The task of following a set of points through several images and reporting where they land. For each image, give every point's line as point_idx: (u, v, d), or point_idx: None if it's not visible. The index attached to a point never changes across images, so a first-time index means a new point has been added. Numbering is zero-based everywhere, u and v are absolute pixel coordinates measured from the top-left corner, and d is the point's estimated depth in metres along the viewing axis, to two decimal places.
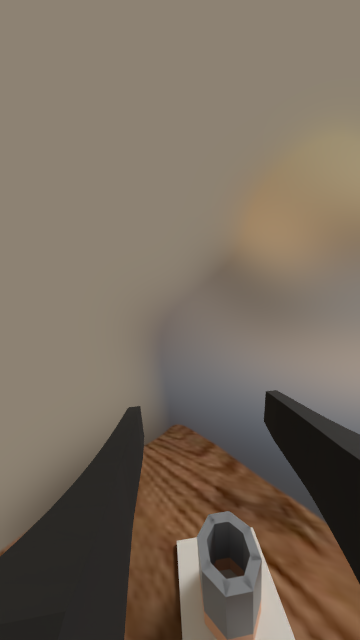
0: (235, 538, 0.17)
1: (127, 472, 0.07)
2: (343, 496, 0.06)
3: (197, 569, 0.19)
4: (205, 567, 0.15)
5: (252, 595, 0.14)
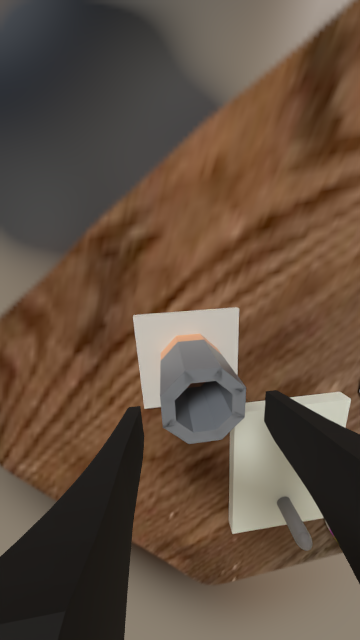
0: None
1: (127, 472, 0.07)
2: (343, 496, 0.06)
3: None
4: (219, 435, 0.11)
5: (242, 383, 0.11)
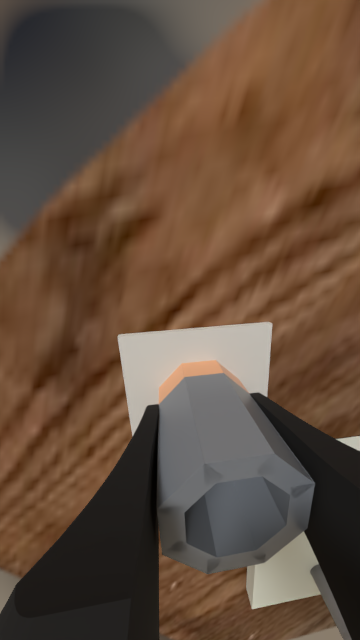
0: None
1: (154, 468, 0.07)
2: (315, 501, 0.06)
3: None
4: (261, 557, 0.07)
5: (304, 470, 0.06)
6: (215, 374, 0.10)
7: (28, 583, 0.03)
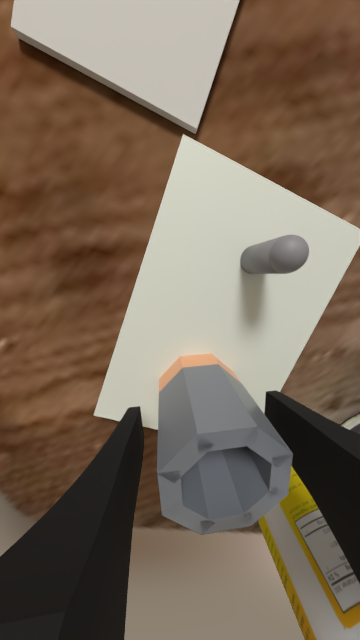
0: None
1: (127, 472, 0.07)
2: (343, 496, 0.06)
3: (78, 5, 0.08)
4: (247, 520, 0.07)
5: (284, 444, 0.07)
6: (210, 365, 0.11)
7: None
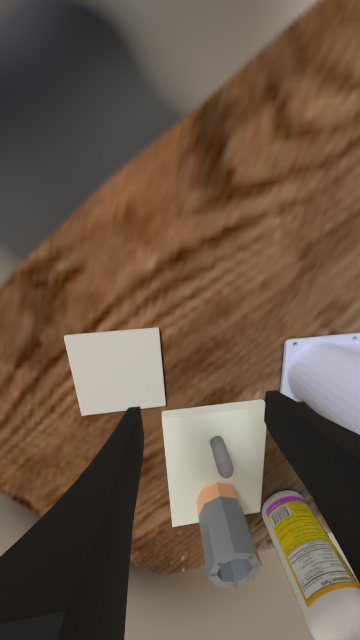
0: None
1: (127, 472, 0.07)
2: (343, 496, 0.06)
3: (102, 397, 0.19)
4: (251, 577, 0.18)
5: (252, 547, 0.18)
6: (216, 498, 0.21)
7: None
